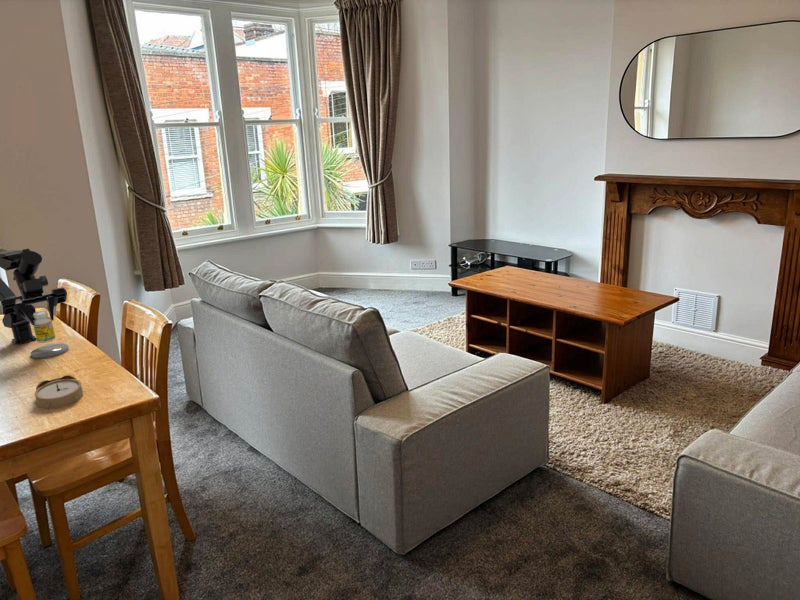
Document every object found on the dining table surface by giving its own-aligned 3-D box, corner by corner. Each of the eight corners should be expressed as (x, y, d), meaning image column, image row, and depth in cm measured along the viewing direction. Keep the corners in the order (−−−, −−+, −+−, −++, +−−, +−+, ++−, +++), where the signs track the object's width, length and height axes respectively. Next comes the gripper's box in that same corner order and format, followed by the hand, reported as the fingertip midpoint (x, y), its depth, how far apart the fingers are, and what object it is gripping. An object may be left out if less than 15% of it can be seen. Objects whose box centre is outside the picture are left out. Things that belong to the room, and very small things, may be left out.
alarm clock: (36, 404, 158) (30, 376, 169) (40, 419, 160) (34, 391, 171) (84, 391, 164) (75, 365, 175) (87, 406, 166) (78, 380, 177)
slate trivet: (27, 353, 202) (26, 350, 202) (63, 343, 209) (62, 341, 209) (36, 361, 194) (35, 358, 194) (73, 351, 201) (72, 348, 201)
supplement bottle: (58, 336, 203) (52, 309, 200) (51, 342, 197) (45, 314, 195) (41, 338, 202) (35, 310, 199) (34, 344, 197) (27, 316, 194)
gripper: (-7, 275, 189) (9, 316, 185) (59, 263, 201) (76, 302, 197) (-6, 294, 197) (10, 334, 193) (57, 282, 209) (73, 319, 205)
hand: (43, 322), depth 197 cm, fingers closed on supplement bottle, 5 cm apart
